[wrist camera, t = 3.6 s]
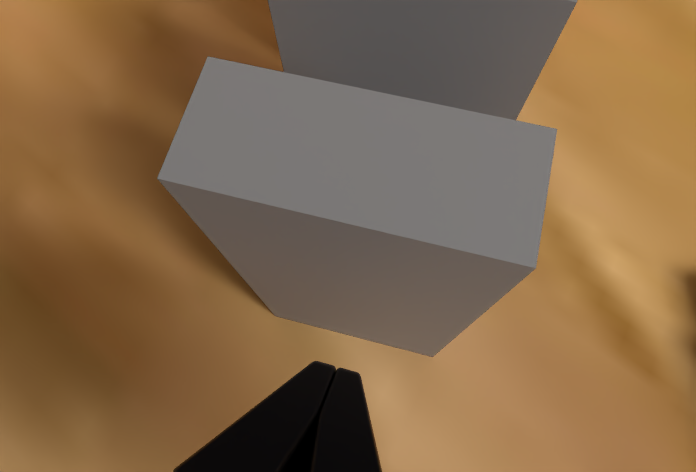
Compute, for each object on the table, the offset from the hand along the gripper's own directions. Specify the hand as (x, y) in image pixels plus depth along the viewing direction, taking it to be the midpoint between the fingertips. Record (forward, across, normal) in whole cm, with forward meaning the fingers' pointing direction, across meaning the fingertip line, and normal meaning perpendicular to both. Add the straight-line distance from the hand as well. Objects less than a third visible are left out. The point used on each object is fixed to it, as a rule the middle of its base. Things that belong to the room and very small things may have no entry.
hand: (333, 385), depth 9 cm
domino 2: (+7, 0, +3) cm, 7 cm away
